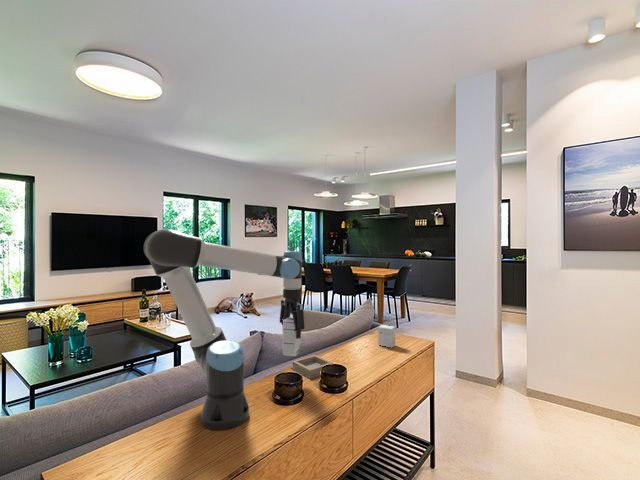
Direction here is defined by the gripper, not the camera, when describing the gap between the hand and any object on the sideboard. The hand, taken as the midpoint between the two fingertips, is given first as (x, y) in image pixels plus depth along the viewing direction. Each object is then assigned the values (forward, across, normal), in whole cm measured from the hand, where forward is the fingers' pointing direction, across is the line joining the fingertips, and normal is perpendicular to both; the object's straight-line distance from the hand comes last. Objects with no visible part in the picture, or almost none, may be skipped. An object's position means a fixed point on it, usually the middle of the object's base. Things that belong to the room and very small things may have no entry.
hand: (291, 343), depth 135 cm
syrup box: (+4, 0, 0) cm, 4 cm away
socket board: (+15, +3, -14) cm, 21 cm away
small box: (+14, +3, -65) cm, 66 cm away
